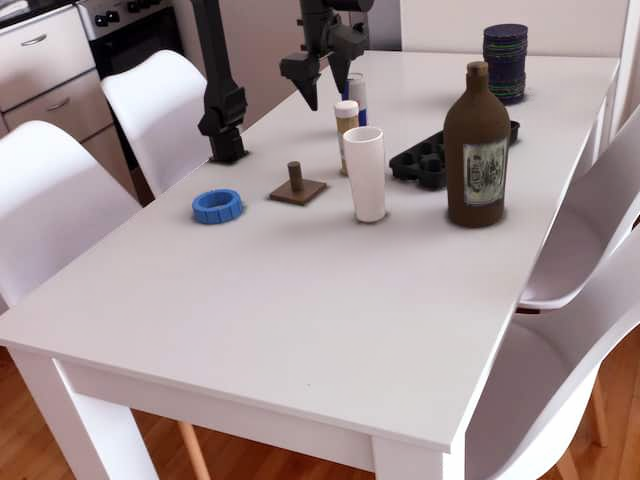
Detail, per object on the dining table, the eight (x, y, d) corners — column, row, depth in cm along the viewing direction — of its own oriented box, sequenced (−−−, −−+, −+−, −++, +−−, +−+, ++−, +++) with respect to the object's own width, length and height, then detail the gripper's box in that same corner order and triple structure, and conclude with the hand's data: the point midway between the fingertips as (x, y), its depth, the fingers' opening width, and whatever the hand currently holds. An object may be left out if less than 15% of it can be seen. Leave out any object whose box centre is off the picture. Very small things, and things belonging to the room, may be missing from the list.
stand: (269, 198, 131) (263, 169, 127) (293, 181, 136) (288, 152, 132) (303, 205, 127) (298, 175, 123) (327, 187, 132) (323, 157, 128)
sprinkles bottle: (368, 171, 136) (362, 103, 127) (349, 178, 134) (341, 110, 126) (356, 164, 139) (349, 97, 131) (337, 171, 137) (329, 104, 129)
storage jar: (531, 93, 160) (535, 24, 151) (515, 108, 154) (518, 37, 145) (492, 89, 165) (493, 22, 155) (474, 103, 159) (475, 34, 149)
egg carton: (381, 184, 131) (380, 165, 129) (448, 126, 150) (447, 109, 147) (466, 198, 123) (466, 178, 121) (525, 135, 142) (526, 117, 140)
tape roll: (185, 218, 128) (182, 206, 126) (216, 198, 133) (213, 186, 132) (221, 227, 124) (218, 214, 122) (251, 205, 129) (248, 193, 128)
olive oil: (436, 207, 122) (432, 60, 106) (493, 195, 123) (497, 49, 107) (456, 234, 113) (455, 80, 98) (516, 222, 115) (525, 67, 99)
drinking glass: (394, 208, 123) (388, 126, 113) (383, 227, 118) (375, 142, 108) (359, 206, 125) (350, 125, 115) (346, 224, 120) (336, 141, 111)
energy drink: (341, 135, 152) (335, 80, 144) (351, 126, 155) (345, 72, 148) (364, 137, 150) (358, 81, 142) (372, 127, 153) (368, 72, 146)
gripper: (326, 27, 107) (338, 125, 117) (385, -3, 119) (391, 88, 128) (270, 24, 112) (285, 118, 122) (331, -5, 124) (341, 84, 133)
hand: (328, 102), depth 126 cm, fingers open, 9 cm apart
